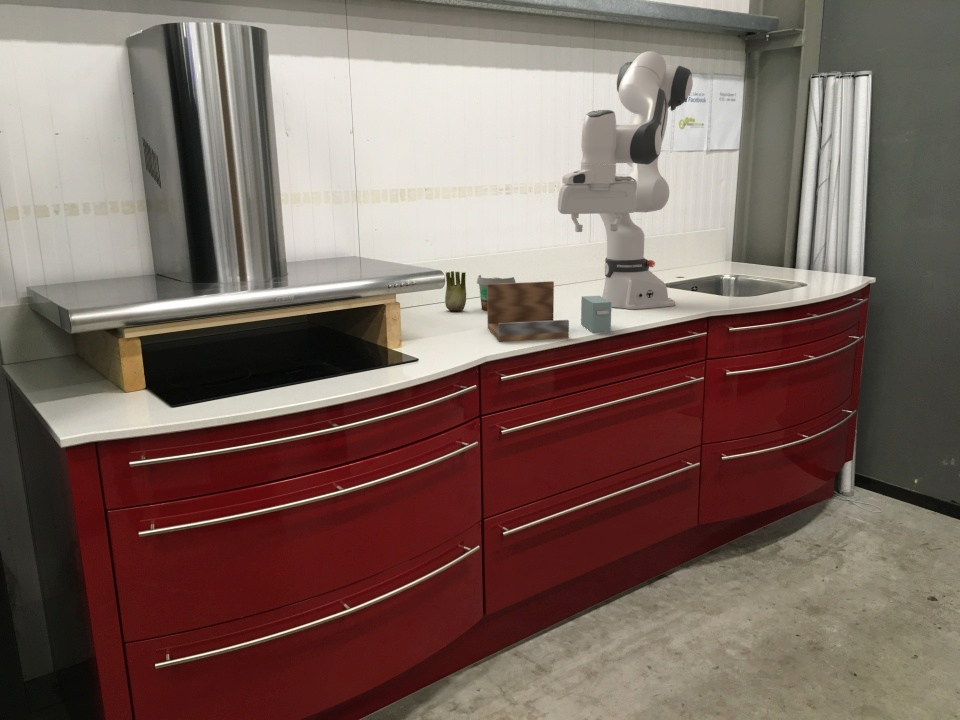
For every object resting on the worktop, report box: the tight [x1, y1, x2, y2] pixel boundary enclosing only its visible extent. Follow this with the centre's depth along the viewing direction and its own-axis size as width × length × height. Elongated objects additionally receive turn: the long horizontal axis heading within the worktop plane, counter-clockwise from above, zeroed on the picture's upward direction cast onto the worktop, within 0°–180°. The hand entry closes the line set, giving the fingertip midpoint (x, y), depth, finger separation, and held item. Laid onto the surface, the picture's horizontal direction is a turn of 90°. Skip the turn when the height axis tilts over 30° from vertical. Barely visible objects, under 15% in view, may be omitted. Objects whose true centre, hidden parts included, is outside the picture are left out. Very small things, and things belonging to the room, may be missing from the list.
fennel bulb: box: [444, 270, 467, 312], centre depth 236 cm, size 6×5×12 cm
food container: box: [476, 274, 517, 312], centre depth 236 cm, size 12×6×10 cm, turn 62°
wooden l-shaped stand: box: [486, 281, 570, 343], centre depth 206 cm, size 18×16×12 cm
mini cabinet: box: [580, 295, 612, 334], centre depth 210 cm, size 5×11×8 cm, turn 10°
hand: (596, 231), depth 205 cm, fingers open, 8 cm apart
